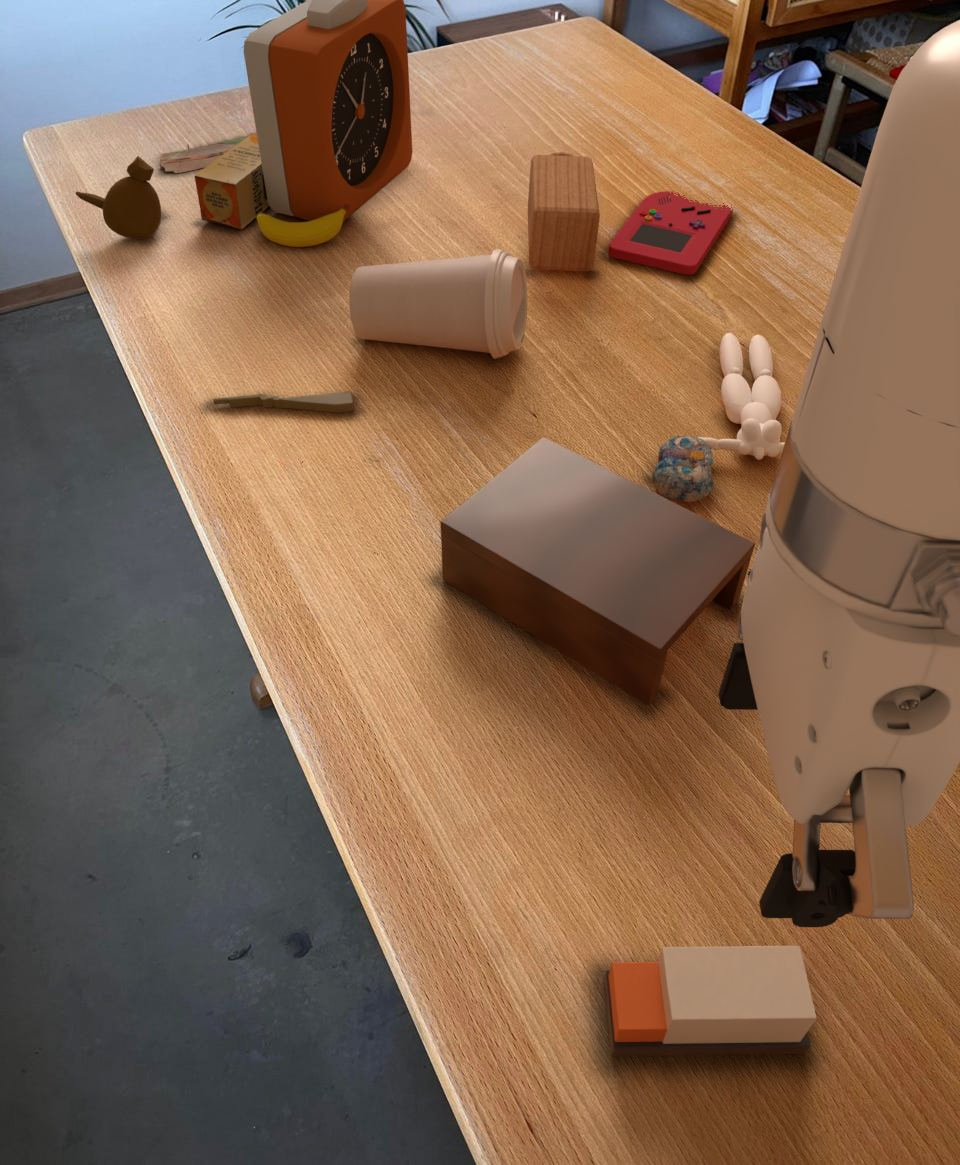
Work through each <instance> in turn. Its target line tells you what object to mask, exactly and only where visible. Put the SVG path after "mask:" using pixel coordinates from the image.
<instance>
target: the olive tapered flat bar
mask: <svg viewBox="0 0 960 1165" xmlns="http://www.w3.org/2000/svg"><path fill="white" fill-rule="evenodd" d="M212 400H213V405H226V404H228V405H229V408H242V407H252V406H262V407H261V408H266V409H267V408H271V407H274V408H275V409H281V408H283V409H294V410H305V411H314V412H324V413H325V412H326V413H349V412H354V411H355V406H354V399H353V393H352V391H344V392H343V391H342V392H333V393H321V394H313V395H312V394H311V395H300V396H291V397H279V396H278V395H273V396H268V395H267V394H262V393H261V394H260V393H259V394H249V395H240V396H239V395H238V396H228V397H216V398H213V399H212Z"/></svg>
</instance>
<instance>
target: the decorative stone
mask: <svg viewBox="0 0 960 1165" xmlns="http://www.w3.org/2000/svg"><path fill="white" fill-rule="evenodd" d="M698 437H699V436H695V437H694V435H688V434H684V435H677V436H673V437H671V438H669V439H667V440H666V441H664V442H663V443H662V444H661V446H660V447H659V449H658V450H659V451H658V457H657V464H656V465H655V467H654V470H653V473H652V478H651V479H652V481H653V486H654V489H655V490H656V491H658V493H660V495H661V496H662V497H665V498H667V499H671V500H672V501H680V502H684V503H693V502H695V501H700V500H703V499H704V500H705V499H706V498H707V496H708V495H710V494H711V492H712V490H713V489H714V486H715V485H714V480H713V479H714V478H713V474H712V465H713V463H714V459H713V457H714V456H713V455H714V453H713V451H712V449H711V447H710V446H709V445H708V443H707V442H705V441H704V440H702V439H700V438H698Z"/></svg>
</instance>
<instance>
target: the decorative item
mask: <svg viewBox="0 0 960 1165" xmlns="http://www.w3.org/2000/svg"><path fill="white" fill-rule="evenodd" d="M528 183H529V184H528V197H527V199H528V200H527V227H528V228H527V233H528V234H527V235H528V236H527V237H528V239H527V240H528V264H529V266H530V268H531V269H533V270H543V271H544V270H545V271H568V272H569V271H571V272H589V271H592V269H593V267H594V265H595V258H596V249H597V240H598V234H599V225H600V216H601V213H600V207H599V199H598V198H599V197H598V193H597V192H598V190H597V184H596V176H595V169H594V162H593V159H592V158H591V157H589V156H581V155H580V156H577V155H576V156H575V155H574V154H572V153H568V152H563V151H559V152H553V153H551V154H535V155H533V156H532V158H531V160H530V169H529V182H528Z"/></svg>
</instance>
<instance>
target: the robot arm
mask: <svg viewBox="0 0 960 1165" xmlns="http://www.w3.org/2000/svg"><path fill="white" fill-rule="evenodd" d="M882 114H883V115H882V117H881V120H880V123H879V126H878V129H877V133H876V136H875V139H874V143H873V146H872V149H871V153H870V156H869V158H868V163H867V166H866V170H865V172H864V177H863V180H862V183H861V186H860V188H859V193H858V195H857V199H856V202H855V207H854V209H853V213H852V216H851V218H850V219H851V220H850V223H849V227H848V229H847V233H846V237H845V240H844V243H843V247H842V249H841V253H840V256H839V260H838V264H837V267H836V270H835V273H834V276H833V280H832V284H831V287H830V290H829V293H828V297H827V300H826V304H825V308H824V311H823V313H822V318H821V321H820V325H819V328H818V331H817V334H816V338H815V341H814V344H813V347H812V351H811V355H810V358H809V361H808V363H807V364H808V365H807V368H806V371H805V374H804V378H803V380H802V385H801V389H800V391H799V394H798V398H797V401H796V405H795V408H794V411H793V413H792V418H791V421H790V424H789V427H788V430H787V431H788V432H787V435H786V438H785V441H784V443H785V444H784V448H783V451H782V454H780V458H779V461H778V465H777V467H776V470H775V473H774V474H775V475H774V477H773V481H772V485H771V487H770V490H769V493H768V496H767V499H766V506H765V512H764V513H763V515H762V518H761V524H760V533H759V541H758V542H759V543H758V548H757V551H756V554H755V556H754V560H753V563H752V564H751V568H749V571H747V582H746V586H745V590H744V594H743V600H742V605H741V606H742V607H741V612H739V614H738V617H737V622H736V623H737V625H736V627H737V628H736V630H737V636H738V639H739V641H741V642H733V644H732V648H731V651H730V655H729V658H728V661H727V664H726V668H725V671H724V674H723V676H722V680H721V684H720V687H719V691H718V696H717V697H718V699H719V704H720V707H723V708H724V709H725V710H728V711H731V710H732V711H735V710H736V711H757V713H758V718H759V721H760V726H761V730H762V735H763V738H764V743H765V748H766V752H767V756H768V760H769V765H770V769H771V772H772V773H771V774H772V776H773V780H774V785H775V788H776V791H777V794H778V798H779V801H780V803H781V806H782V808H783V809H784V810H785V811H786V813H787V814H788V815H789V817H790V818H792V819H793V835H792V853H785V854H782V855H781V856H780V857H779V860H778V862H777V864H776V866H775V868H774V870H773V872H772V874H771V876H770V878H769V880H768V882H767V884H766V887H765V888H764V890H763V892H762V895H761V897H760V899H759V902H758V903H759V909H760V914H761V916H762V918H765V919H791V921H792V924H793V925H794V926H796V927H799V928H824V927H828V926H830V925H833V924H834V923H836V922H837V920H838V919H839V918H843V917H844V916H846V915H849V916H850V915H851V917H857V918H863V919H869V920H870V919H873V920H877V919H878V920H887V919H888V920H906V919H907V920H909V919H912V917H913V915H914V911H915V901H914V892H913V890H914V889H913V882H912V873H911V862H910V852H909V844H908V833H907V827H914V826H918V825H920V824H921V823H922V822H923V821H924V820H925V819H926V818H927V817H928V816H929V815H930V813H931V811H932V810H933V808H934V807H935V805H936V804H937V802H938V801H939V799H940V798H941V796H942V794H943V793H944V792H945V790H946V788H947V786H948V784H949V782H950V780H951V779H952V777H953V775H954V773H955V772H956V769H957V768H958V765H960V19H959V20H956V21H954V22H953V23H950V24H948V25H947V26H945V27H943V28H941V29H940V30H939V31H937V32H935V33H934V34H932V35H931V37H929V38H928V39H927V40H925V42H924V43H922V44H921V45H920V46H919V47H918V48H917V50H916V52H914V54H913V55H912V56H911V58H910V59H909V60H908V62H907V63H906V65H905V66H904V67H903V68H902V70H901V71H900V73H899V75H898V76H897V78H896V81H895V82H894V84H893V86H892V90H891V92H890V95H889V97H888V100H887V103H886V106H885V109H884V111H883V113H882ZM848 792H849V794H848ZM821 824H852V835H853V836H852V837H853V845H854V849H820V845H821V844H820V842H821Z"/></svg>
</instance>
